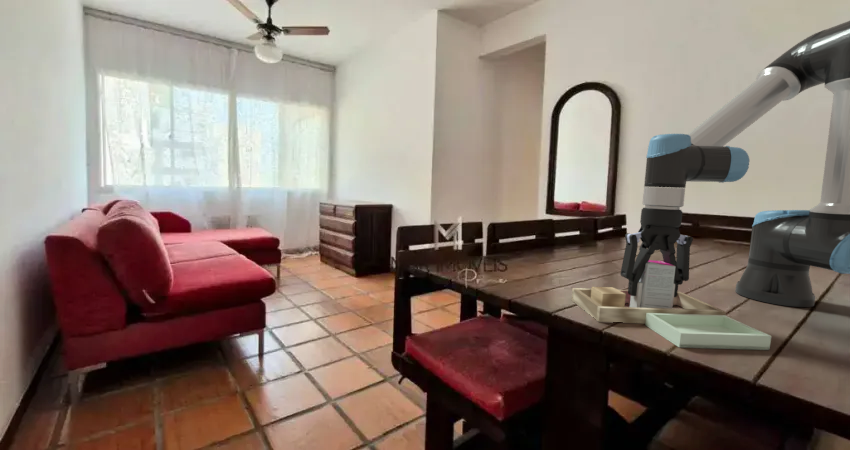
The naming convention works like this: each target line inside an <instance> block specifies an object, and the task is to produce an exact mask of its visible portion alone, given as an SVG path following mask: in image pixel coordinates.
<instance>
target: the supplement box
mask: <svg viewBox="0 0 850 450" xmlns="http://www.w3.org/2000/svg"><path fill="white" fill-rule="evenodd" d="M675 268H676V266H674V265H671V264H669V263H666V262H664V260H650V259H649V261H648V263H646V264H645V270H644V272H643V274H642V276H641V278H640V280H639V282H641V283H643V286H642V295H641V305H640V308H671V300H672V292H673V284H674V276H675Z"/></svg>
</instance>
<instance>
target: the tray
mask: <svg viewBox="0 0 850 450" xmlns="http://www.w3.org/2000/svg"><path fill="white" fill-rule="evenodd" d="M644 324H645V325H644V326H645V327H647V328H649V329H650V330H651V331H652V332H655V333H656V334H658V335H660V336H661V337H662V338H664V339H665V340H666V341H668V342H670V343H672V344H673V345H675V346H676V347H678V348H685V349H687V348H688V349H719V350H720V349H723V350H753V351H754V350H756V351H757V350H759V351H770V349H771V348H770V347H771V343H772V342H771V341H772V335H770V334H769V333H766V332H763V331H762V330H760V329H757V328H754V327H753V326H750V325H748V324H745V323H743V322H741V321H738V320H736V319H734V318H732V317H731V316H730V317H729V316H727V314H726V315H698V314H666V313H646V322H645V323H644Z"/></svg>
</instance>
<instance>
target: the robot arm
mask: <svg viewBox="0 0 850 450" xmlns="http://www.w3.org/2000/svg"><path fill="white" fill-rule="evenodd" d="M823 84H824V88H825V89H826V90H827V91H830V92H831V93H832V94H833V95H832V103H831V113H830V120H829V128H828V129H829V130H828V137H827V138H828V139H827V145H826V153H825V160H824V167H823V169H824V170H823V177H822V185H821V194H820V200H819V203H818V204H816V205H815V206H814V207H811V208H810V209H809V210H807V209H792V210H791V209H788V210H787V209H780V210H776V209H775V210H773V209H772V210H762V211H759V212H757V213H756V214H755V216H754V220H753V224H752V225H751V227H752V228H751V233H750V234H751V236H750V243H749V244H750V245H749V251H748V258H747V259H748V260H747V265H746V268H745V269H744V271H743V272H742V275H741V276H740V279H739V281H737V282H736V285H735V293H737V294H738V295H740V296H741V297H745V298H748V299H752V300H755V301H758V302H759V301H760V302H763V303H768V304H773V305H779V306H786V307H794V308H795V307H796V308H810V307H814V306H815V302H816V294H815V293H813V286H812V282H811V278H810V268H811V267H815V268H819V269H825V270H828V271H834V272H836V273H839V274H842V275H844V274H848V275H850V20H848V21H845V22H842V23H840V24H838V25H835V26H832V27H829V28H827V29H824V30H821V31H817V32H815V33H813V34H811V35H809V36H807V37H806V38H804V39H803V40H801V41H799V42H797V43H796V44H795V45H793V46H792V47H791V48H789V49H788V50H786V51H785V52H784V53H782V54H781V55H779V56H778V57H777V58H776V59H774V60H773V61H772V62H771V63H769V64H768V65H767V66H766V67H764V68H763V69H762V70H760V71H759V72H758V74H757V75H756V78H755V81H753V82H752V83H751V84H750V85H749V86H747V87H746V88H745V89H744V90H742V91H740V93H738V94H737V95H736V96H735V97H733V98H732V99H731V100H730V101H728V102H727V103H726V104H724V105H723V106H722V107H721V108H719V109H718V110H717V111H716V112H714V113H712V115H711V116H709V117H708V118H706V120H704V121H702V123H700V124H699V125H698V126H696V127H695V128H694V129H693V130H691V131H690V132H689V133H688V134H685V133H665V134H664V133H662V134H657V135H654V136H652V137H651V138H650V140H649V144H648V146H647V147H648V148H647V154H646V163H645V164H646V165H645V174H644V185H643V193H642V205H643V206H644V207H642V208H641V213H640V222H639V223H640V228H639V229H638V231H637V232H633V233H629V232H627V233H626V234H625V236H624V238H625V248H624V255H623V258H622V259H623V260H622V264H621V270H620V274H619V275H620V276H621V277H623V278H624V279H627V280H628V287H627V290H628V294H629V295H631V298H630V303H629V307H637V308H640V305H641V295H642V286H643V283H641V282H639V280H640V278H641V276H642V274H643V272H644V270H645V264H646V263H648V261H649V260H650V259H651V257H652V255H654V253H655V251H660V253H661V255H662V259H663V260H662V261H664V262H666V263H669V264H671V265H674V266H676V268H675V276H674V284H673V292H672V300H671V308H670V309H674V307H673V306H674V305H673V300H674V297H676V296H677V292H678V291H679V285H680V286H681V285H682V284H683V282H687V281H689V279H690V255H691V253H690V252H691V246H692V244H693V240H694V239H693V236H688V235H685V234H681V232H680V227H681V226H682V220H683V211H682V209H680V208H682V207H684V204H685V203H684V202H685V197H686V196H685V195H686V186H687V185H686V184H687V182H691V183H692V182H701V183H702V182H705V183H706V182H712V183H713V182H714V183H722V184H724V183H734V182H737V181H739V180H741V179H743V178H744V176H745V175H746V174H747V172H748V170H749V167H750V166H749V165H750V156H749V154H748V152H747V151H746V150H744V149H743V148H741V147H738V146H737V147H735V146H730V145H727V144H728V143H730V142H731V141H733V139H735V138H736V137H737V136H738V135H739V134H741V133H743V132H744V131H745V130H746V129H748V128H749V127H750V126H752V125H754V123H755V122H757V121H758V120H759V119H760V118H762V117H763V116H764V115H766V114H767V113H768V112H770V111H771V110H772V109H773V108H775V107H776V106H777V105H779V104H780V103H781V102H782V101H783V102H784V101H789V100H792V99H794V98H795V97H796V96H798V95H800V93H802V92H804V91H806V90H808V89H810V88H814V87H816V86H819V85H823ZM640 241H641V244H640V246H639V245H638V243H639V242H640ZM676 243H677V244H676ZM675 244H676V248H675ZM638 246H639V252H638ZM637 252H638V253H637Z"/></svg>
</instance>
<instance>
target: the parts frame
mask: <svg viewBox="0 0 850 450" xmlns="http://www.w3.org/2000/svg"><path fill="white" fill-rule="evenodd" d="M571 289H572V290H571V301H572V302H573V303H574V302H575V303H574V304H575V305H577V306H578V307H579V306H580V307H579V308H581V309H582V310H583V311H584V310H585V311H584V312H585V313H586V314H588V315H589V314H590V315H591V317H592V318H593V317H594V318H595V319H596V320H595V319H594V318H593V319H594V320H595V321H597V322H598V323H613V322H623V323H624V324H645V322H646V313H666V314H698V315H726V316H727V311H725V310H723V309H720V308H718V307H716V306H714V305H712V304H709V303H707V302H705V301H702V300H701V299H698V298H696V297H693V296H691V295H688V294H686V293H684V292H682V291H679V290H678V292H677V296H676V297H674V300H673V306H674V305H675V306H678V307H681V308H672V309H670V308H637V307H630V306H629V307H628V306H625V307H604V306H601V305H600V304H598V303H597V302H595V301H594V300H593V299H591V288H584V287H583V288H581V287H579V288H577V287H572V288H571ZM618 290H619V291H621V292H623V293H625V294H626V296H625V304H630V298H631V295H629V294H628V289H618ZM590 315H589V316H590ZM623 323H622V324H623Z"/></svg>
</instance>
